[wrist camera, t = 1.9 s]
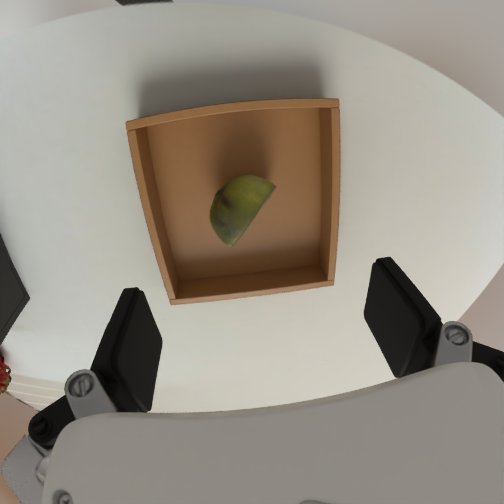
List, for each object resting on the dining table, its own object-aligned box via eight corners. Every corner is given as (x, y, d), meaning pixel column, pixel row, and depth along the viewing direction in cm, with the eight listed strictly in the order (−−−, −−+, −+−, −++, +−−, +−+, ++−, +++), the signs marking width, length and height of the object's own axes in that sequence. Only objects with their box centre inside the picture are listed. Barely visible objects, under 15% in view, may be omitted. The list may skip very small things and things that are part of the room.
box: (138, 118, 17) (124, 122, 15) (325, 98, 17) (339, 98, 15) (175, 284, 24) (170, 305, 22) (324, 266, 25) (334, 285, 22)
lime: (272, 166, 19) (286, 187, 15) (271, 227, 22) (283, 262, 18) (209, 168, 19) (203, 190, 15) (213, 230, 22) (210, 266, 17)
